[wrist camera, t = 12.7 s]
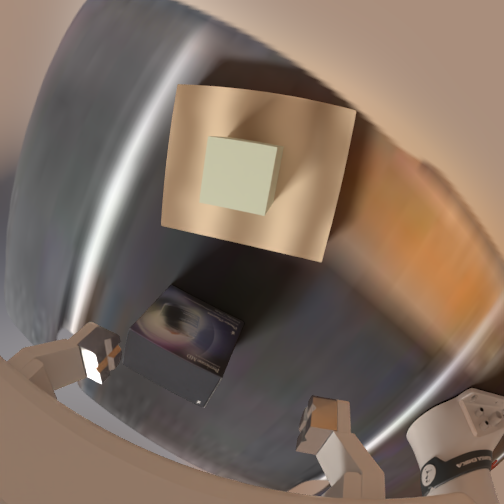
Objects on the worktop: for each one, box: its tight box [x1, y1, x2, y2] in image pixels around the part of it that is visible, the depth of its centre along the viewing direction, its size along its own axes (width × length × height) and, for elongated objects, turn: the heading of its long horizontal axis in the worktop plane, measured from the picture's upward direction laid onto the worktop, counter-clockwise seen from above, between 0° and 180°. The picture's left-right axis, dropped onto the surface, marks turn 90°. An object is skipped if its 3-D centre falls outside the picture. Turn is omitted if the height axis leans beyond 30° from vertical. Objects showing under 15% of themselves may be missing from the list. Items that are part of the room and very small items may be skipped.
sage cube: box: [199, 136, 284, 216], centre depth 23 cm, size 5×5×5 cm
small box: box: [122, 285, 244, 408], centre depth 32 cm, size 11×6×10 cm, turn 67°
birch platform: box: [161, 84, 356, 262], centre depth 27 cm, size 16×14×4 cm
